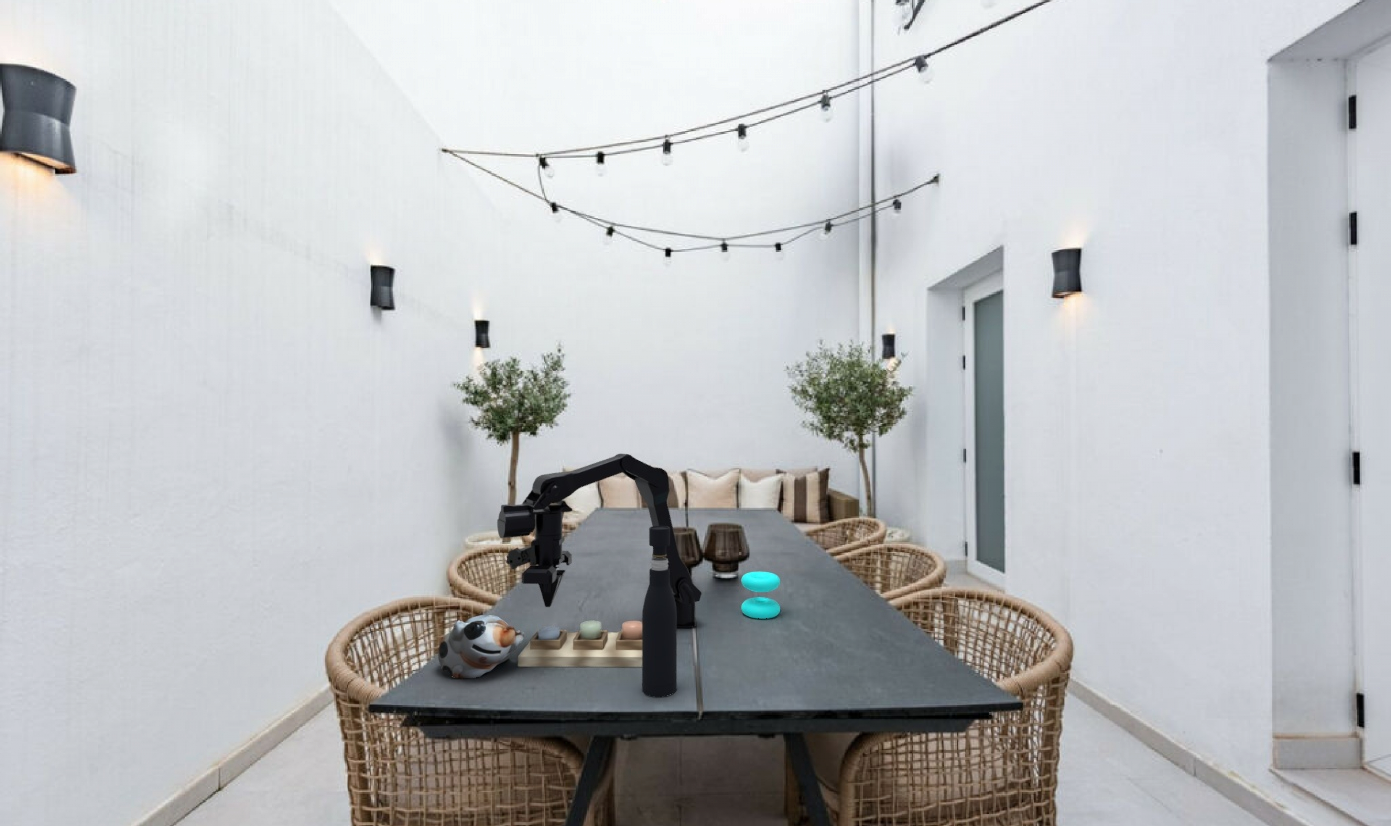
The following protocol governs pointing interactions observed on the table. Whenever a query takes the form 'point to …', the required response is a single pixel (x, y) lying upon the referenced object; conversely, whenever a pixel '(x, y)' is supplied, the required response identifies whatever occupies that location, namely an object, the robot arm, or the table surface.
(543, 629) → the button slate
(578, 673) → the table surface
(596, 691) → the table surface
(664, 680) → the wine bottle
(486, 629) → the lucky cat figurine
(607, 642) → the button board
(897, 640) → the table surface
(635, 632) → the button terracotta
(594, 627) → the button sage
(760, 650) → the table surface
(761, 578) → the donuts
